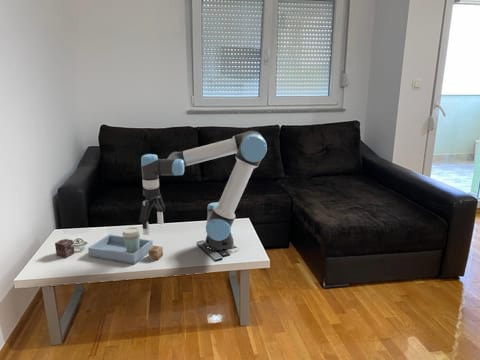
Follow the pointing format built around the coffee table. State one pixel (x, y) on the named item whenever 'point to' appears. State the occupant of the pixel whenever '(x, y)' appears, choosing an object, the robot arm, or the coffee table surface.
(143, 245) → the tray
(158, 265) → the coffee table surface
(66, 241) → the box
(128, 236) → the coffee cup
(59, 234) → the coffee table surface
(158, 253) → the walnut cube
